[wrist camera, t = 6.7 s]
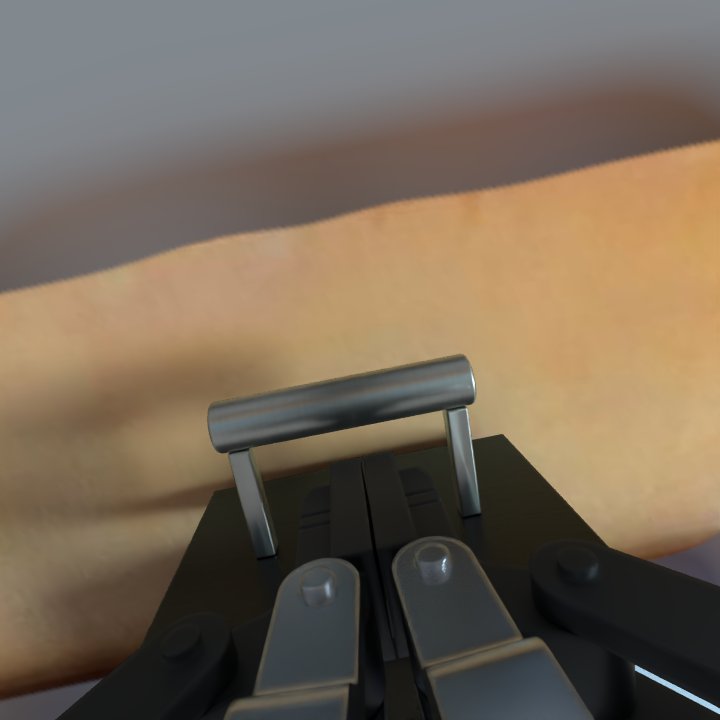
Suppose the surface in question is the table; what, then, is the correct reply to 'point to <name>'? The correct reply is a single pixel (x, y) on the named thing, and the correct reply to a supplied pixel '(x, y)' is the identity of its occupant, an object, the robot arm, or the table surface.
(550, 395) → the table surface
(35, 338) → the table surface
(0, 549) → the table surface
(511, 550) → the drawer
